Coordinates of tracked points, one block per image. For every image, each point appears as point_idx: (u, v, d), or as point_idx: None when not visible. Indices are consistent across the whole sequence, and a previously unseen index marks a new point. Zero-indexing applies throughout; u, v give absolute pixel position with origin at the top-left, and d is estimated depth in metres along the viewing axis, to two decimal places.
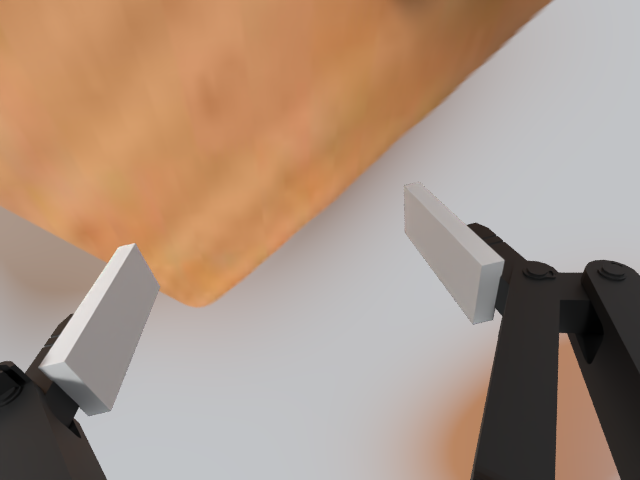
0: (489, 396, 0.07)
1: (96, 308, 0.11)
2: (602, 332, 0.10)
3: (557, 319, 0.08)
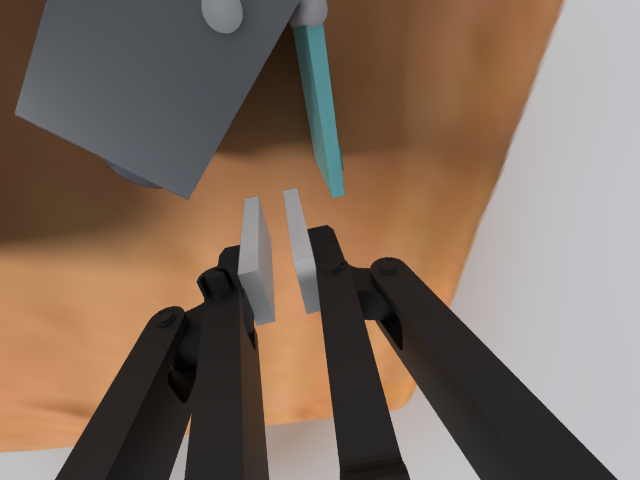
0: (331, 392, 0.08)
1: (258, 238, 0.14)
2: None
3: (357, 299, 0.10)
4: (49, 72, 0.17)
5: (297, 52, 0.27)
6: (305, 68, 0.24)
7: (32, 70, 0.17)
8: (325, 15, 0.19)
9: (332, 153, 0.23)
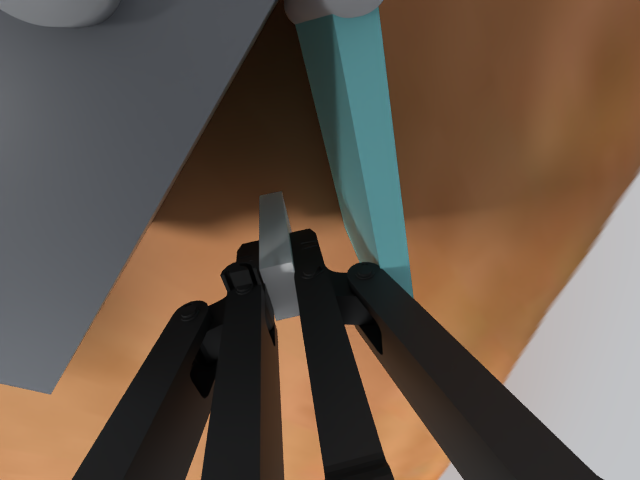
0: (313, 398, 0.07)
1: (276, 233, 0.14)
2: None
3: (336, 303, 0.10)
4: None
5: (307, 67, 0.15)
6: (327, 103, 0.12)
7: None
8: None
9: (395, 278, 0.11)
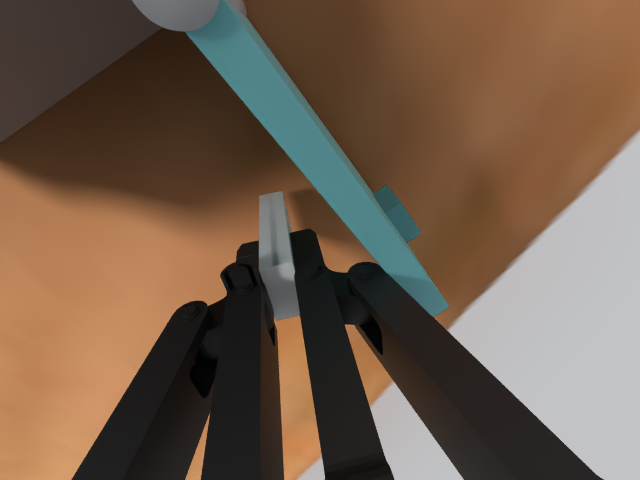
0: (313, 397, 0.08)
1: (276, 234, 0.14)
2: None
3: (336, 303, 0.10)
4: None
5: None
6: None
7: None
8: None
9: (391, 257, 0.10)
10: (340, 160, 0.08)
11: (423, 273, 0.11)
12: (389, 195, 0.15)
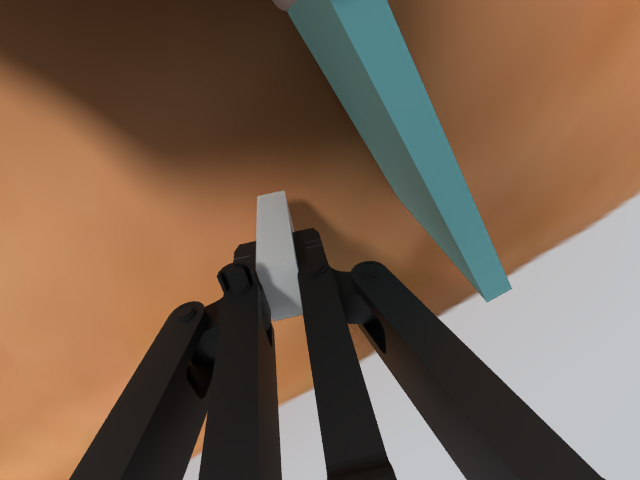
0: (316, 396, 0.08)
1: (274, 234, 0.14)
2: None
3: (339, 302, 0.10)
4: None
5: (311, 49, 0.15)
6: (341, 77, 0.11)
7: None
8: None
9: (468, 233, 0.10)
10: (440, 127, 0.08)
11: (494, 252, 0.11)
12: None
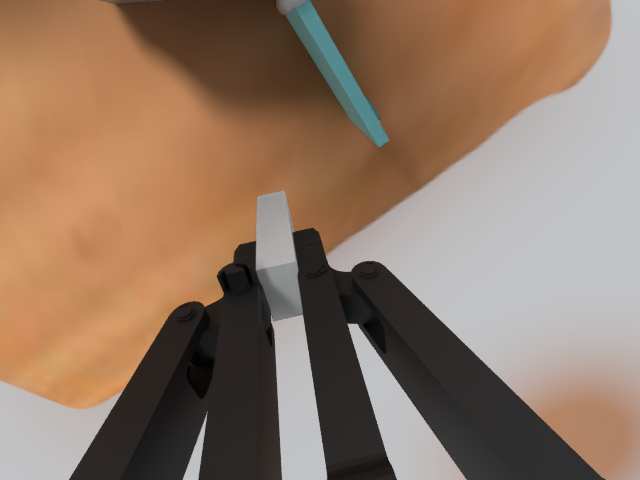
0: (316, 397, 0.08)
1: (274, 234, 0.14)
2: None
3: (339, 302, 0.10)
4: None
5: (298, 34, 0.29)
6: (310, 44, 0.26)
7: None
8: None
9: (362, 107, 0.25)
10: (342, 58, 0.23)
11: (376, 118, 0.25)
12: None
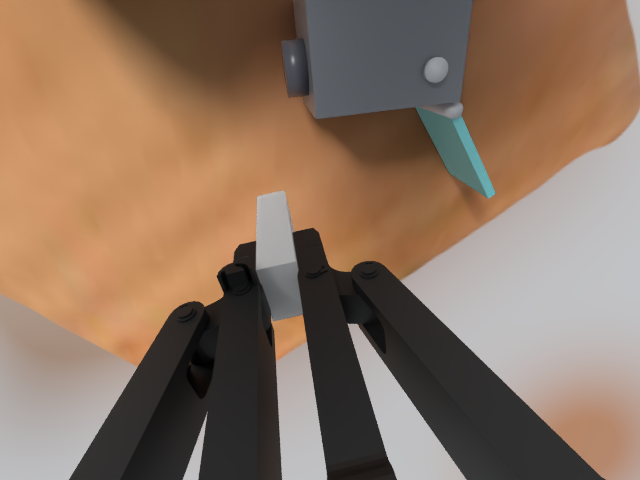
0: (316, 397, 0.08)
1: (273, 234, 0.14)
2: None
3: (339, 302, 0.10)
4: None
5: (422, 117, 0.41)
6: (441, 130, 0.38)
7: None
8: (462, 109, 0.32)
9: (481, 174, 0.37)
10: (474, 145, 0.35)
11: (489, 180, 0.37)
12: None
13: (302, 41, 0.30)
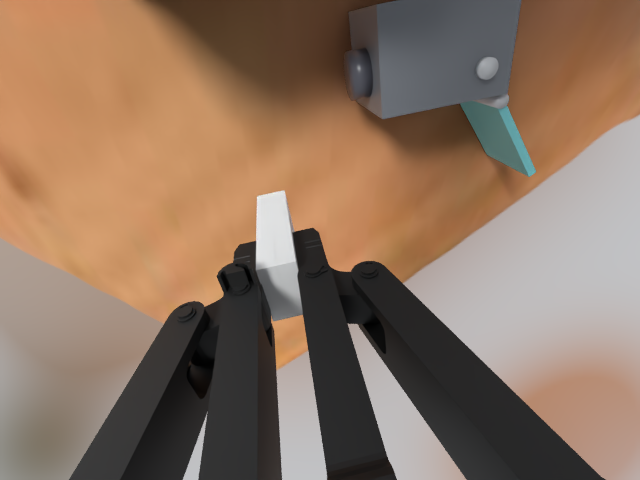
0: (316, 397, 0.08)
1: (274, 234, 0.14)
2: None
3: (339, 302, 0.10)
4: (410, 10, 0.30)
5: (463, 106, 0.45)
6: (483, 117, 0.42)
7: (406, 1, 0.29)
8: (508, 100, 0.36)
9: (523, 155, 0.41)
10: (517, 130, 0.39)
11: (530, 160, 0.41)
12: None
13: (366, 51, 0.34)
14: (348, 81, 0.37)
